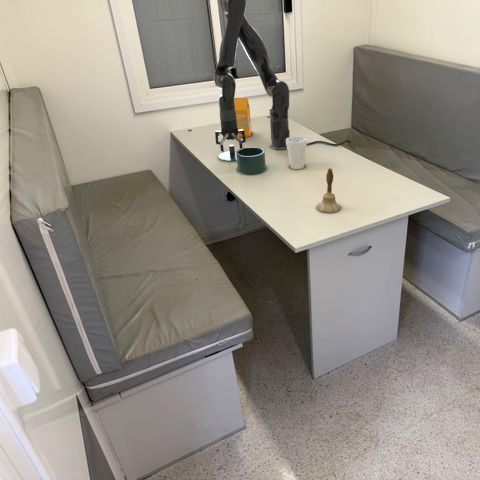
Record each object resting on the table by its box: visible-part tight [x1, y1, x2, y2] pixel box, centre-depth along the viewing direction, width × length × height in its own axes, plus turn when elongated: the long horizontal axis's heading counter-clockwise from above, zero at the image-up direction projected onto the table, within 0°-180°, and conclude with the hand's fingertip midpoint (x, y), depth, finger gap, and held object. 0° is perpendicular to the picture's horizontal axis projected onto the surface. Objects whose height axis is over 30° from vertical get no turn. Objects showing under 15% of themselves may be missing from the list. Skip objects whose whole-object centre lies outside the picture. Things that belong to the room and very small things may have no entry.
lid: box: [218, 144, 237, 162], centre depth 209 cm, size 14×14×6 cm
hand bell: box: [317, 168, 340, 214], centre depth 161 cm, size 8×8×16 cm
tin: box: [235, 146, 267, 176], centre depth 196 cm, size 13×13×8 cm
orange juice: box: [234, 97, 253, 137], centre depth 237 cm, size 8×9×20 cm
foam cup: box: [286, 135, 308, 170], centre depth 198 cm, size 10×9×13 cm
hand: (231, 151), depth 209 cm, fingers open, 8 cm apart
